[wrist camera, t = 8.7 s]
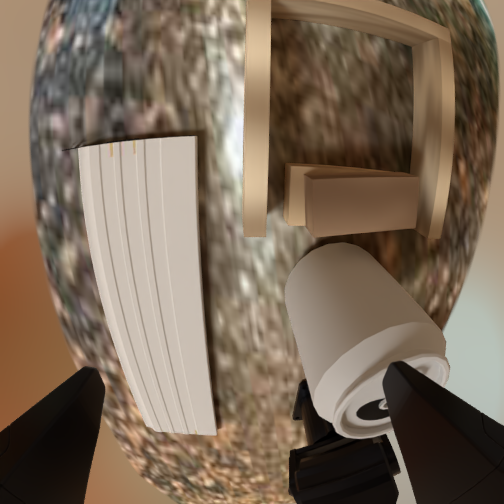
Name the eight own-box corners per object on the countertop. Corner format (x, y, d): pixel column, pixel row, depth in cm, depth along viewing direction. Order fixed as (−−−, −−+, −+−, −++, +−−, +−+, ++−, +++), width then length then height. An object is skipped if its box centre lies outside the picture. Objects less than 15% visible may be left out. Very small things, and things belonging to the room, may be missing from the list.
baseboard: (136, 419, 28) (217, 425, 29) (132, 437, 26) (217, 444, 26) (68, 148, 17) (199, 134, 17) (47, 152, 14) (193, 134, 15)
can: (266, 309, 22) (290, 447, 11) (309, 222, 20) (390, 332, 8) (345, 331, 24) (398, 445, 12) (389, 257, 21) (484, 353, 10)
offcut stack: (387, 219, 20) (415, 238, 16) (282, 217, 19) (294, 237, 16) (393, 168, 18) (425, 178, 15) (285, 159, 18) (298, 165, 14)
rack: (414, 223, 20) (440, 239, 17) (242, 219, 19) (243, 236, 16) (422, 38, 14) (449, 29, 11) (246, 3, 13) (249, -21, 10)
